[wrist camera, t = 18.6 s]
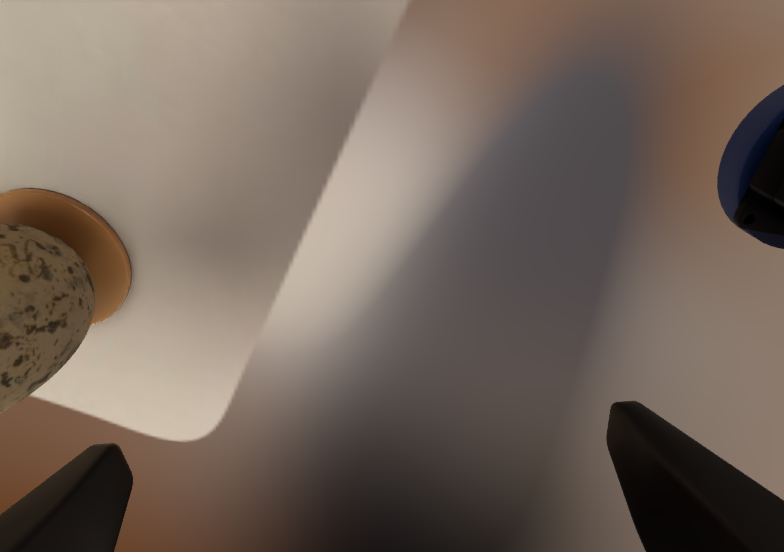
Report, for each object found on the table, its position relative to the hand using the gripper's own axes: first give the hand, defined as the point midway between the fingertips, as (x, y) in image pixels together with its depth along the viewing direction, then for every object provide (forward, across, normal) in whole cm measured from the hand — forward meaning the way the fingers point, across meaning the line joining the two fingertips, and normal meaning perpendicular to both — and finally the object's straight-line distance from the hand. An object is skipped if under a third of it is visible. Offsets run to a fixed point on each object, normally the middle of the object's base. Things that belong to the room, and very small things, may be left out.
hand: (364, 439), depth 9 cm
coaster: (+13, +14, +1) cm, 19 cm away
